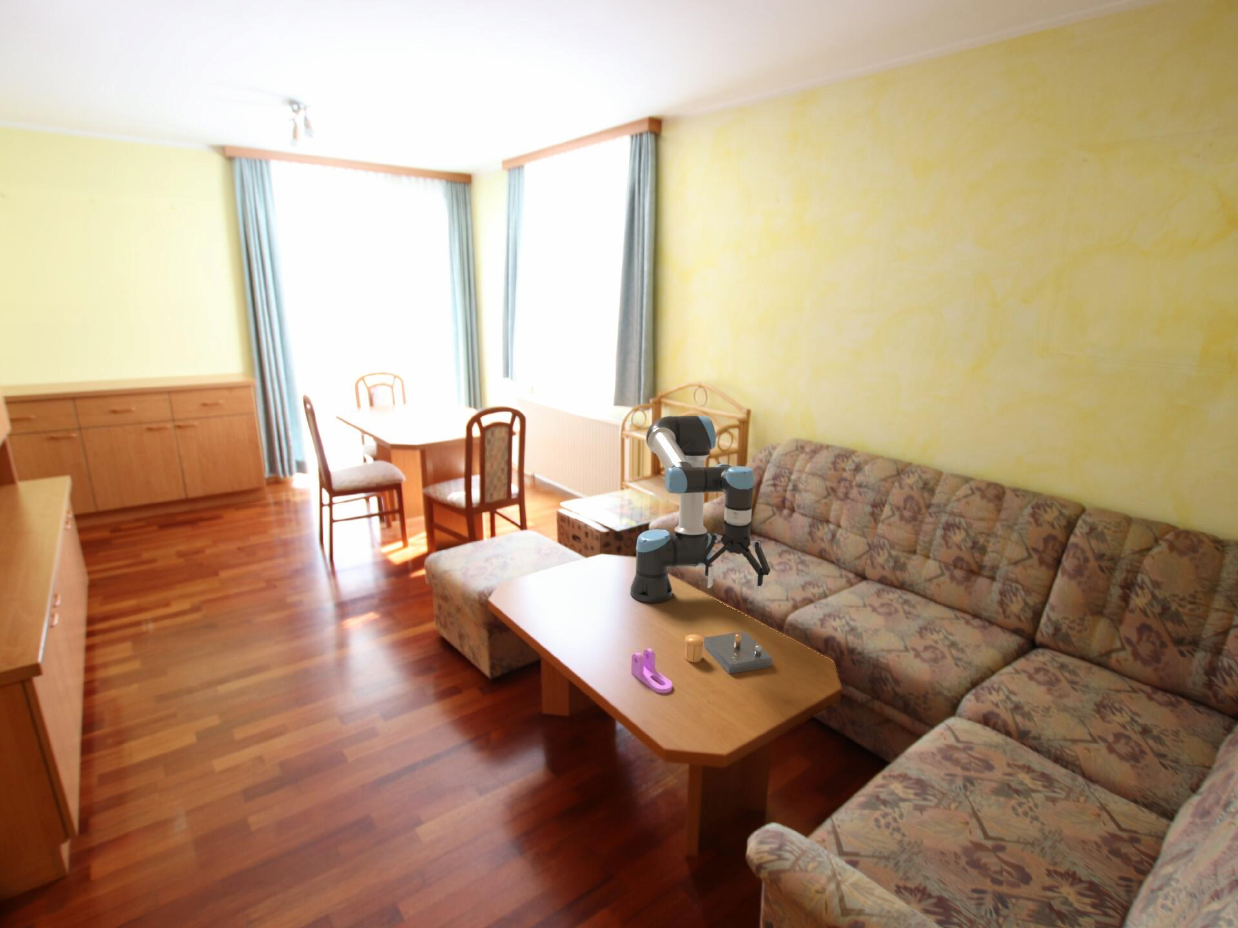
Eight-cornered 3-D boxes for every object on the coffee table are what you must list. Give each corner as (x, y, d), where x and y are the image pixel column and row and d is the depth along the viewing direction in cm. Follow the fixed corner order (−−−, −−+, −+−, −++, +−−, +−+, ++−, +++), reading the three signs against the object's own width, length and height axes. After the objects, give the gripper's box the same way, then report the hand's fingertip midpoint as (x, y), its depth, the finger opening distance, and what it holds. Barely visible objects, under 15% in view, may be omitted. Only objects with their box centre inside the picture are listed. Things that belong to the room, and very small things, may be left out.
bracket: (631, 673, 184) (631, 651, 182) (646, 667, 187) (647, 646, 186) (660, 696, 174) (661, 672, 172) (676, 689, 177) (677, 666, 175)
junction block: (703, 646, 199) (705, 625, 198) (744, 639, 204) (745, 619, 202) (728, 673, 185) (730, 651, 183) (771, 666, 189) (773, 644, 188)
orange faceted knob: (681, 654, 194) (682, 635, 193) (697, 651, 196) (698, 633, 195) (688, 663, 190) (689, 644, 188) (704, 660, 191) (705, 641, 190)
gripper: (691, 518, 185) (687, 587, 190) (779, 532, 175) (772, 604, 180) (699, 511, 191) (695, 577, 196) (784, 524, 181) (778, 594, 186)
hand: (732, 590), depth 188 cm, fingers open, 13 cm apart
